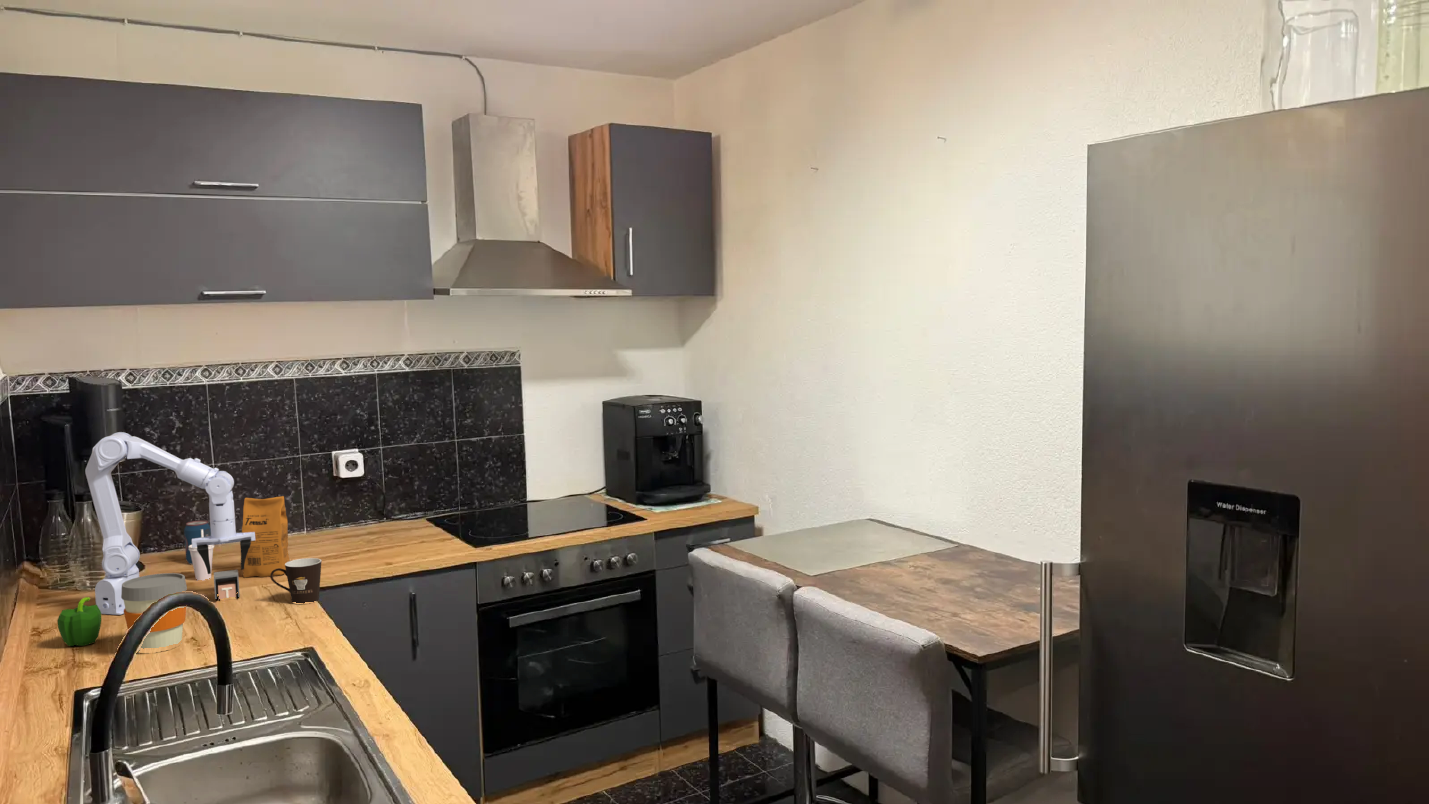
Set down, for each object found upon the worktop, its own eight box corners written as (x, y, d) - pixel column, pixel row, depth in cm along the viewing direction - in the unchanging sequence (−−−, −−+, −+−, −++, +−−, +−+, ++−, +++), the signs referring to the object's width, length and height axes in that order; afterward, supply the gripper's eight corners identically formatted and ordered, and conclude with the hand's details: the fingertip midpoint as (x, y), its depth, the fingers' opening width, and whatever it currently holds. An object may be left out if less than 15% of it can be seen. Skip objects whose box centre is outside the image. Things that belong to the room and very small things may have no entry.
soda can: (189, 560, 286) (186, 521, 285) (214, 558, 289) (212, 519, 287) (184, 566, 280) (181, 525, 279) (210, 563, 282) (207, 524, 281)
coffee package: (250, 569, 275) (245, 494, 273) (295, 567, 276) (290, 493, 274) (236, 579, 265) (232, 501, 263) (283, 577, 266) (278, 499, 264)
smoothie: (205, 582, 262) (201, 532, 260) (185, 581, 263) (181, 531, 262) (221, 576, 268) (218, 527, 267) (201, 575, 269) (198, 526, 268)
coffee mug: (330, 596, 246) (328, 559, 245) (308, 606, 238) (306, 567, 237) (293, 594, 249) (290, 556, 248) (269, 603, 241) (267, 565, 240)
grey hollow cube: (239, 599, 245) (238, 574, 245) (215, 602, 243) (213, 577, 242) (239, 593, 250) (237, 569, 250) (215, 596, 248) (213, 572, 247)
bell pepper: (72, 652, 208) (69, 607, 207) (52, 646, 212) (49, 602, 211) (112, 640, 215) (109, 597, 214) (92, 635, 219) (89, 592, 218)
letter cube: (236, 599, 246) (235, 584, 245) (219, 601, 244) (217, 586, 243) (235, 595, 249) (235, 580, 249) (218, 597, 247) (217, 582, 247)
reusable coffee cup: (111, 655, 205) (106, 588, 204) (153, 636, 217) (148, 572, 216) (164, 657, 203) (159, 589, 202) (203, 638, 216) (199, 573, 214)
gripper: (190, 525, 238) (193, 578, 239) (254, 518, 245) (257, 570, 246) (190, 520, 244) (194, 572, 245) (253, 513, 251) (256, 564, 252)
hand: (226, 570), depth 246 cm, fingers open, 7 cm apart
